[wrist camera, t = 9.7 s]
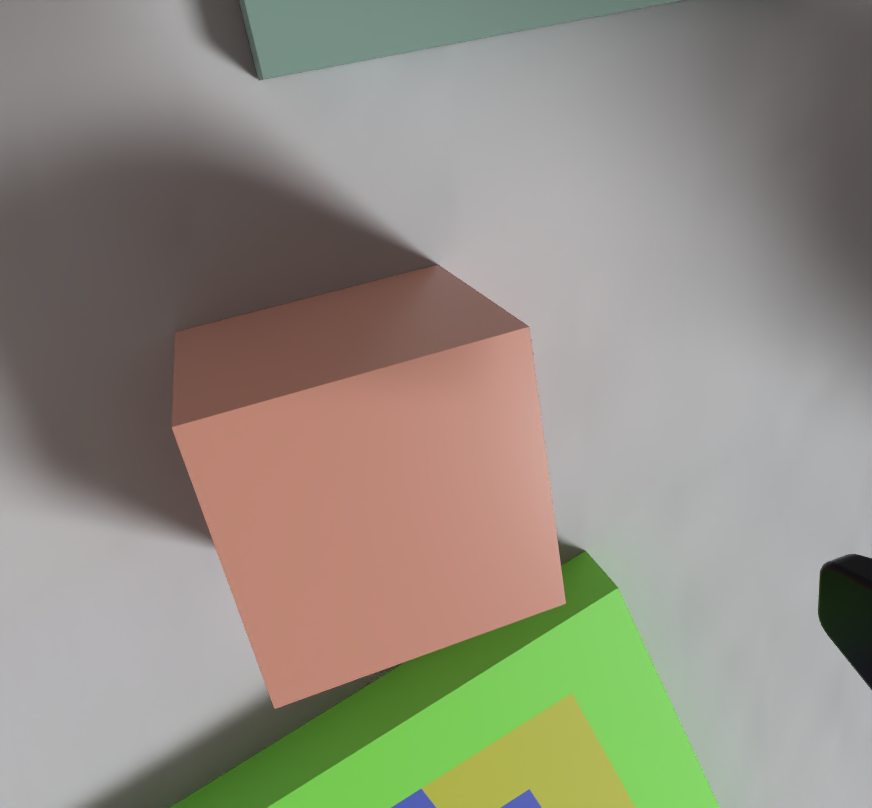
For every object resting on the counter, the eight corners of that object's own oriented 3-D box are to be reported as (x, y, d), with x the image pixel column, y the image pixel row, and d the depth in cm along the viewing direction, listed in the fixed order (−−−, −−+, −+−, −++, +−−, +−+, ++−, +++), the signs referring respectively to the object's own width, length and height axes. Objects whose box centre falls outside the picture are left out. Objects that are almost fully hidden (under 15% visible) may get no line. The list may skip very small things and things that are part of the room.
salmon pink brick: (436, 263, 17) (529, 327, 12) (476, 483, 19) (565, 603, 14) (175, 330, 15) (171, 427, 11) (252, 555, 18) (274, 709, 13)
